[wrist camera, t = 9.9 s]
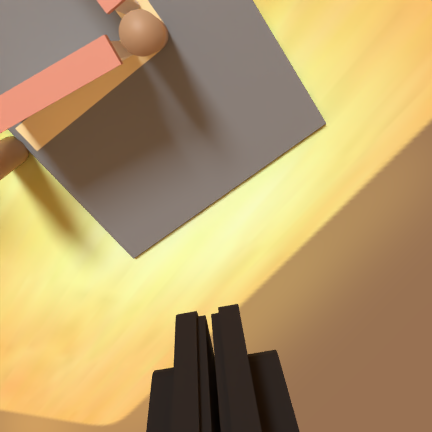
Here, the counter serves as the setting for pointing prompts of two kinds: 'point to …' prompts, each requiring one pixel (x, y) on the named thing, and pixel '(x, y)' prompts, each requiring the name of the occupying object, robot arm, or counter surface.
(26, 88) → the fence gate
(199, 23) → the card
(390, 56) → the counter surface
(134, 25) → the fence fixed
